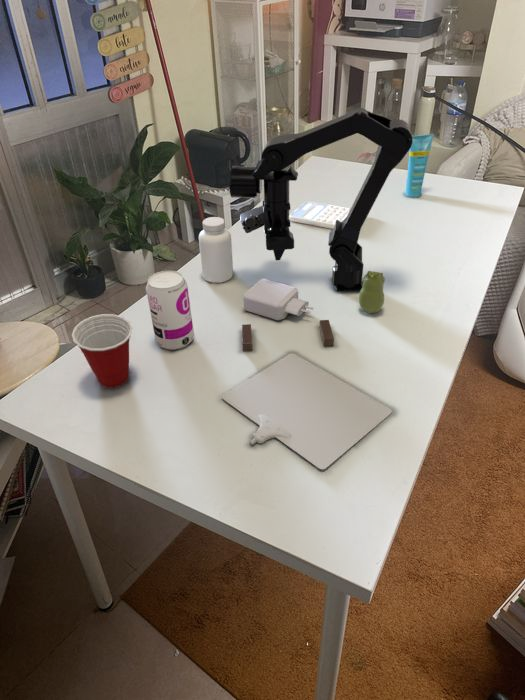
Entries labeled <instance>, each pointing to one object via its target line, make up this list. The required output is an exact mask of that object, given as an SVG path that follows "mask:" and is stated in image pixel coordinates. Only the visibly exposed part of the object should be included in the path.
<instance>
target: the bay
mask: <svg viewBox="0 0 525 700" xmlns="http://www.w3.org/2000/svg"><path fill="white" fill-rule="evenodd" d="M318 323H319V324H318V325H319V332H320V336H321V340H322V345H323V347H324V348H327V347H329V348H330V347H334V345H335V344H334V343H335V338H334V334H333V330H332V327H331V322H330V320H329V319H321V320H319V322H318ZM252 336H253V335H252V324H251V323H250V324H249V323H248V324H247V323H246V324H241V342H242V343H241V344H242V352H253V337H252Z"/></svg>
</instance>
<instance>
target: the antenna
mask: <svg viewBox="0 0 525 700" xmlns="http://www.w3.org/2000/svg"><path fill="white" fill-rule="evenodd" d="M221 399H222V400H223V401H224V402H226V403H227V404H229V405H230V406H231V407H233V408H234V409H236V410H237V411H238V412H240V413H241V414H243V415H244V416H245V417H247V418H248V419H250V420H251V421H252V422H253V423H255V424H256V425H258V429H257V430H255V431H254V432H253V433H252V434H251V437H252V439H250V440H249V444H250V445H251V446H253V445H255V444H256V443H258V444H263V443H265V442H267V441H268V440H271V439H277V440H279V441H280V442H281V443H283V444H285V445H286V446H287V447H288V448H290V449H291V450H292V451H294V452H295V453H296V454H298V455H299V456H301V457H302V458H304V459H305V460H306V461H308V462H309V463H310V464H312V465H313V466H315V467H316V468H318V470H326V469H327V468H329V467H330V466H331V465H332V464H333V463H334V462H335V461H337V460H338V459H339V458H340V457H341V456H343V455H344V454H345V453H346V452H347V451H348V450H350V449H351V448H352V447H353V446H354V445H356V444H357V443H358V442H359V441H361V440H362V439H363V438H364V437H365V436H366V435H368V433H370V432H371V431H372V430H373V429H375V428H376V427H377V426H378V425H380V424H381V423H382V422H383V421H384V420H386V418H387V417H389V416H390V415H391V414H392V413H393V411H392V409H391V408H389V407H388V406H387V405H384V404H382V403H381V402H379V401H377V400H376V399H374V398H372V397H370V396H369V395H367V394H366V393H364V392H362V391H361V390H358V389H357V388H355V387H353V386H351V385H349V384H348V383H346V382H345V381H342V380H341V379H339V378H338V377H335V376H334V375H333V374H331V373H329V372H327V371H325V370H323V369H321V368H320V367H318V366H317V365H315V364H313V363H311V362H310V361H307V359H304V358H303V357H301V356H299V355H298V354H296V353H291V352H290V353H289V354H287V355H285V356H283V357H282V358H281V359H279V360H277V361H275V362H274V363H272V364H271V365H269V366H267V367H266V368H264V369H263V370H261V371H260V372H258V373H256V374H255V375H253V376H251V377H250V378H248V379H247V380H245V381H243V382H242V383H241V384H240V383H239V384H238V385H237V386H235V387H234V388H232V389H230V390H229V391H227V392H225V393H224V394H223V395H222V396H221Z"/></svg>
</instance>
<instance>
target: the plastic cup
mask: <svg viewBox="0 0 525 700" xmlns="http://www.w3.org/2000/svg"><path fill="white" fill-rule="evenodd" d="M133 328H134V327H133V325H132V323H131V321H130V320H129V319H127V318H125V317H124V316H122V315H118V314H114V313H102V314H96V315H92V316H89V317H87V318H85V319H82V320H81V321H80V322H79V323H78V324H77V325H75V326H74V327H73V330H72V333H71V337H72V340H73V342H74V344H76V345H77V347H78V349H80V351H81V353H82V354H83V356H84V358H85V360H86V361H87V364H88V365H89V367H90V370H91V371H92V373H93V374H94V376H95V378H96V380H97V382H98V383H99V385H101V386H102V387H103V388H108V389H111V388H112V389H113V388H114V389H115V388H117V387H121V386H122V385H124V384H125V383H126V382H127V381H128V379H129V377H130V376H129V375H130V340H131V339H130V338H131V336H132V334H133V333H132V332H133Z"/></svg>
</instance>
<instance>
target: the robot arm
mask: <svg viewBox="0 0 525 700" xmlns="http://www.w3.org/2000/svg"><path fill="white" fill-rule="evenodd" d="M356 134H359V135H361V136H363V137H364V138H366V139H368V140H369V141H371V142H372V143H373V144H376V145H377V149H376V152H375V158H374V161H373V163H372V165H371V167H370V168H369V171H368V173H367V175H366V178H365V179H364V181H363V183H362V185H361V186H360V189H359V191H358V193H357V195H356V197H355V199H354V201H353V204H352V205H351V207H350V211H349V213H348V215H347V217H346V218H345V219H344V220H343V221H342V222H340V221H339V220H336V222H335V226H334V228H333V229H331V231H330V232H329V235H328V244H327V246H328V247H329V249H328V254H329V256H330V258H331V259H332V260H333V261H335V262H334V265H333V266H332V273H331V282H332V285H333V286H334V289H335V292H338V293H340V292H341V293H342V292H356V291H357V292H360V291H361V289H362V287H363V275H364V274H363V273H364V262H363V247H362V245H361V244H360V243H359V239H360V238H359V237H360V234H361V231H362V227H363V225H364V224H365V222H366V220H367V218H368V216H369V214H370V212H371V210H372V208H373V206H374V204H375V203H376V200H377V198H378V197H379V195H380V193H381V191H382V189H383V187H384V186H385V183H386V182H387V180H388V177H389V176H390V173H391V172H392V171H393V170H394V169H395V168H396V167H397V166H398V165H399V164H400V163H401V162H402V161H403V159H404V158H405V157H406V155H407V154H408V153H409V152H410V148H411V146H412V141H413V140H412V136H413V135H412V131H411V128H410V125H409V123H408V122H406V120H404V119H401V118H397V119H395V118H394V119H391V118H389V117H387V116H384V115H381V114H377V113H374V112H371V111H369V110H367V109H365V108H364V107H357V108H355V109H353V110H352V111H350V112H348V113H345V114H343V115H340V116H338V117H336V118H334V119H331V120H328V121H326V122H323V123H321V124H319V125H316V126H314V127H311V128H309V129H307V130H304V131H302V132H298V133H287V134H281V135H278V136H274V137H271V138H270V139H269V140H268V141H266V143H265V146H264V148H263V150H262V152H261V155H260V156H261V157H260V160H258V161H257V164H256V166H241V165H232V167H231V168H230V178H229V179H230V180H229V189H228V190H229V195H230V198H234V199H235V198H237V199H238V198H241V199H257V197H258V194H262V192H263V200H262V205H261V206H258V207H254V208H252V209H250V210H247V211H244V212H242V213H241V214H240V215H239V220H240V223H241V226H242V229H243V231H244V232H245V234H249V233H252V232H253V231H256V230H259V229H261V228H262V227H263V232H264V234H265V235H264V238H265V247H266V250H267V251H273V255H274V260H275V261H281V260H282V257H283V255H284V253H285V251H286V250H293V249H294V248H295V238H294V233H293V232H291V231H290V228H291V220H290V218H289V217H290V211H291V203H290V182H292V181H294V182H295V181H297V180H298V177H299V172H298V171H297V170H295V169H294V168H293V166H292V164H294V163H295V162H297V161H298V160H299V159H301V158H302V157H303V156H305V155H307V154H309V153H311V152H314V151H316V150H319V149H321V148H324V147H326V146H329V145H331V144H333V143H336V142H339V141H341V140H344V139H347V138H349V137H351V136H354V135H356ZM286 168H287V169H286Z"/></svg>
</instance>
